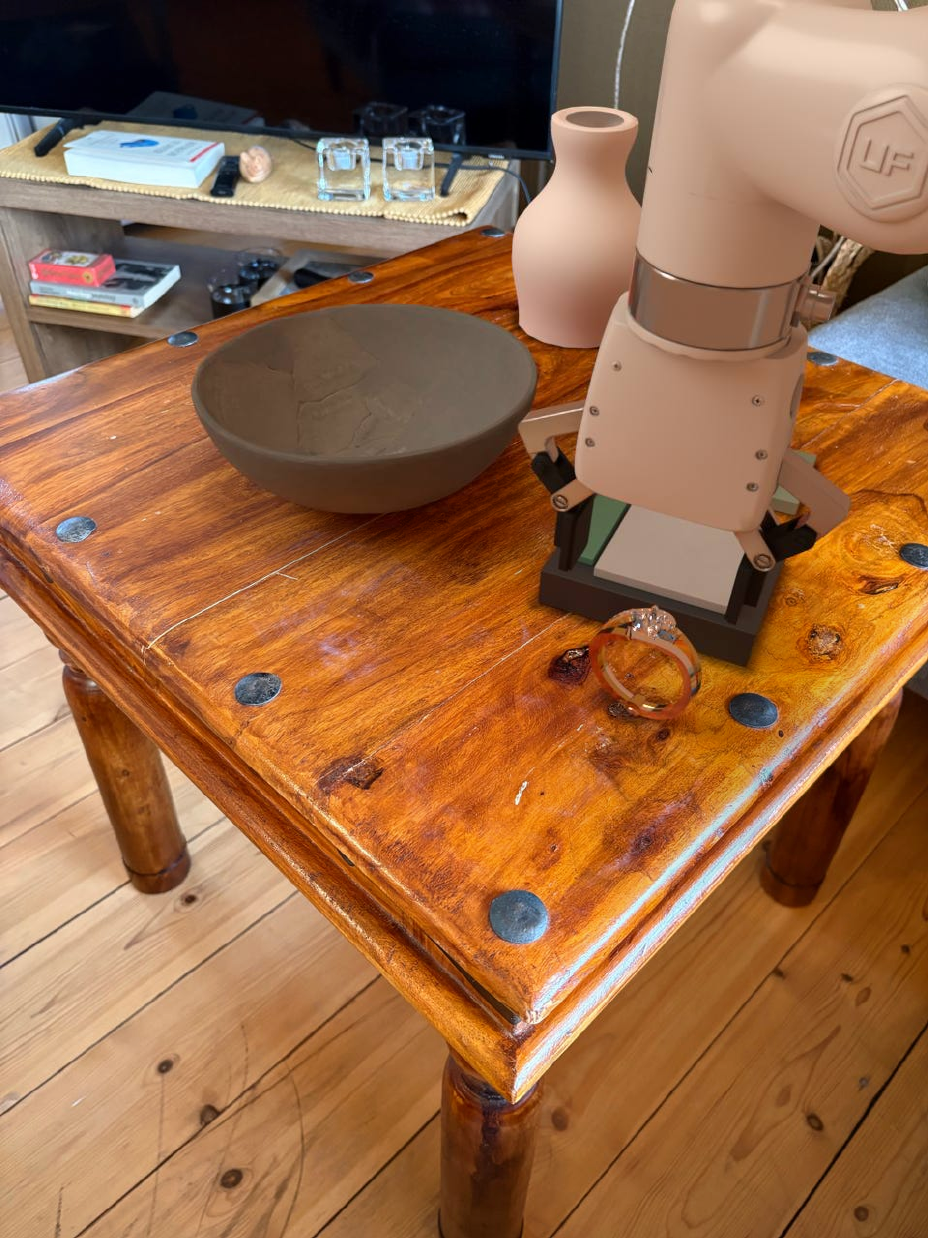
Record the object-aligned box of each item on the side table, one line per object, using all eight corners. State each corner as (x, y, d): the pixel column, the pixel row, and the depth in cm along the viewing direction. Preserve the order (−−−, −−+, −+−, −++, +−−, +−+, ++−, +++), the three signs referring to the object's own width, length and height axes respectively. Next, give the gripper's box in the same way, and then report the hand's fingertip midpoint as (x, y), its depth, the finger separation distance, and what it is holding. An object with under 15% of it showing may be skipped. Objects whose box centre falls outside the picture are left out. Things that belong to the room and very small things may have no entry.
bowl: (288, 618, 69) (272, 498, 62) (166, 441, 86) (144, 333, 79) (593, 510, 79) (607, 398, 72) (431, 372, 96) (431, 270, 89)
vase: (480, 326, 103) (486, 119, 90) (555, 282, 112) (571, 87, 99) (597, 367, 97) (622, 151, 84) (667, 317, 106) (700, 114, 92)
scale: (783, 567, 74) (795, 526, 72) (746, 668, 66) (758, 625, 63) (594, 514, 79) (599, 474, 76) (537, 602, 71) (541, 560, 68)
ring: (695, 722, 62) (720, 628, 57) (669, 752, 60) (692, 657, 55) (602, 672, 65) (617, 578, 60) (575, 698, 64) (588, 604, 58)
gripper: (921, 302, 45) (817, 590, 56) (563, 229, 50) (536, 506, 61) (900, 374, 40) (791, 674, 51) (504, 284, 45) (486, 575, 56)
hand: (652, 582), depth 56 cm, fingers open, 9 cm apart
